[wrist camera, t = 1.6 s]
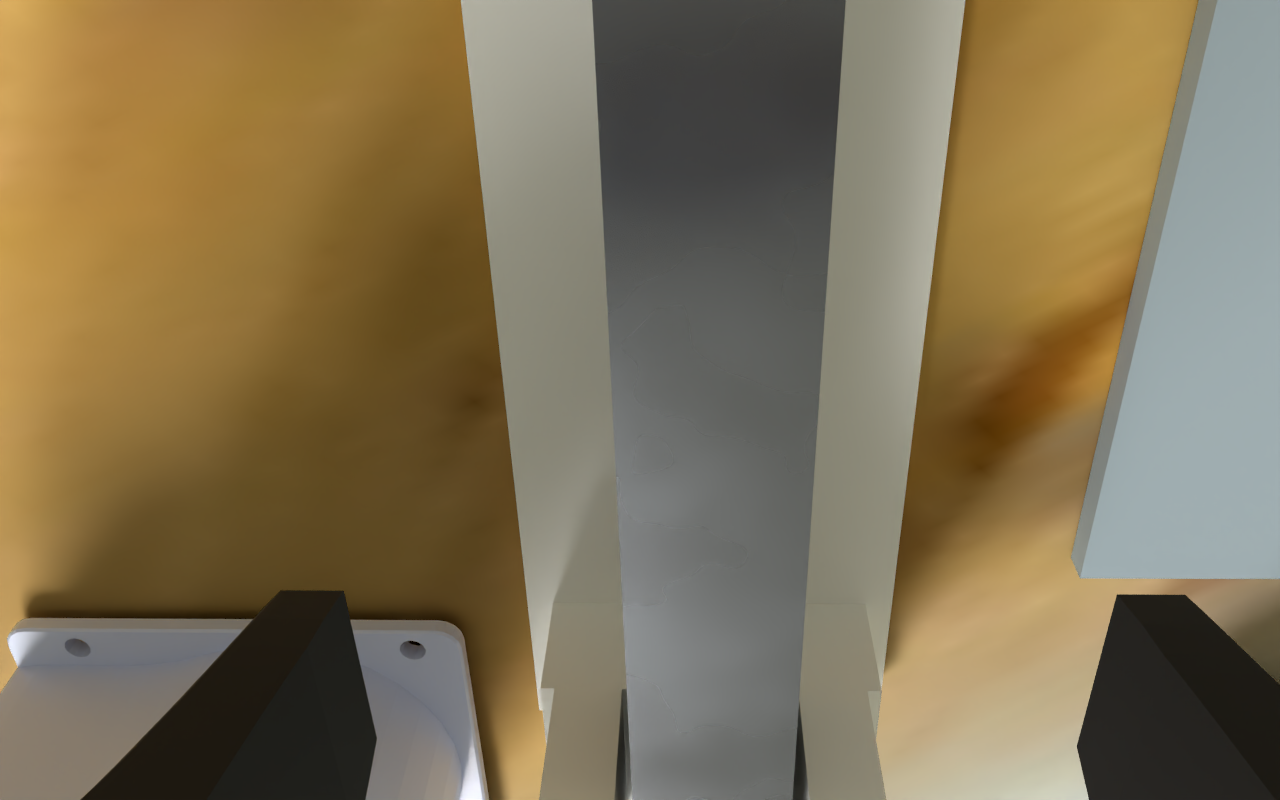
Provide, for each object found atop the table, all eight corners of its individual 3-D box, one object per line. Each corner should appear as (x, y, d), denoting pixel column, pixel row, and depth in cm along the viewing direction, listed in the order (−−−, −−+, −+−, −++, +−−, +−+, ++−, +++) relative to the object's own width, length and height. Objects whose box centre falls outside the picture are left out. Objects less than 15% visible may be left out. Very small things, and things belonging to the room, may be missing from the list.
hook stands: (543, 681, 24) (504, 945, 19) (417, -510, 13) (253, -625, 8) (872, 684, 24) (922, 954, 19) (1014, -537, 13) (1218, -671, 8)
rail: (644, 833, 22) (640, 955, 20) (579, -708, 10) (551, -808, 8) (773, 835, 22) (782, 957, 20) (857, -723, 10) (899, -827, 8)
